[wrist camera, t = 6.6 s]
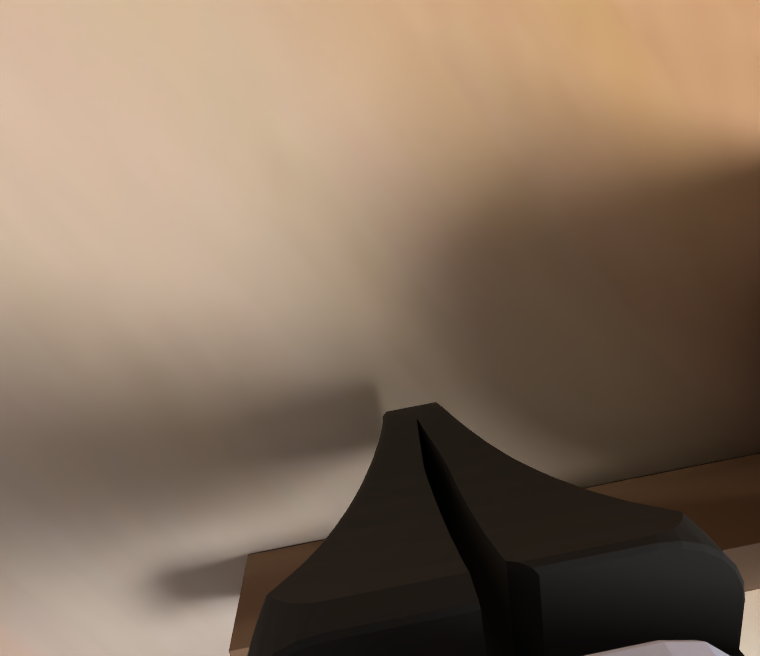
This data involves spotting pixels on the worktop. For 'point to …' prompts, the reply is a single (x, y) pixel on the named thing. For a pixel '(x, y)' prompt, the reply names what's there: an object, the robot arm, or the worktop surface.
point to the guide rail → (666, 490)
